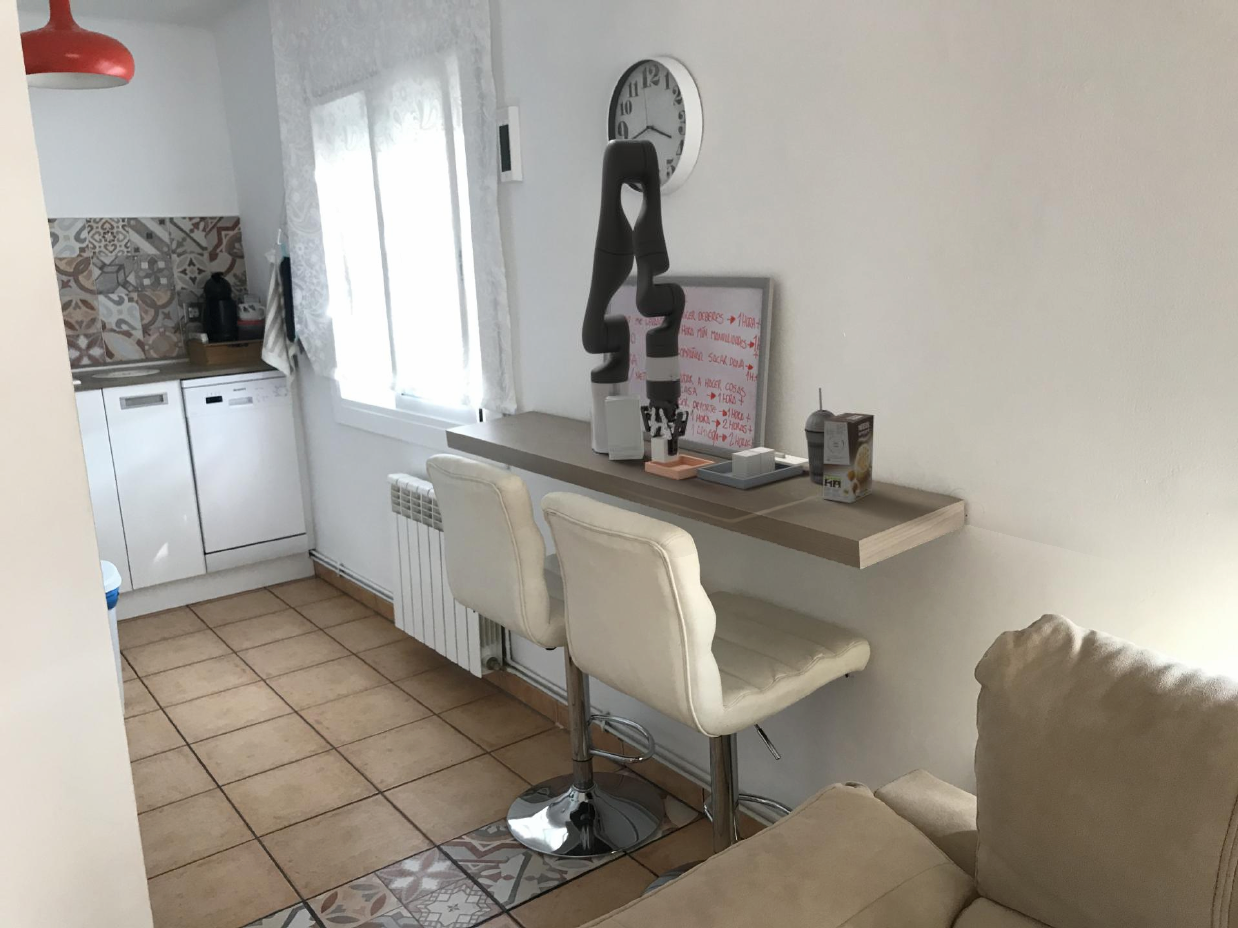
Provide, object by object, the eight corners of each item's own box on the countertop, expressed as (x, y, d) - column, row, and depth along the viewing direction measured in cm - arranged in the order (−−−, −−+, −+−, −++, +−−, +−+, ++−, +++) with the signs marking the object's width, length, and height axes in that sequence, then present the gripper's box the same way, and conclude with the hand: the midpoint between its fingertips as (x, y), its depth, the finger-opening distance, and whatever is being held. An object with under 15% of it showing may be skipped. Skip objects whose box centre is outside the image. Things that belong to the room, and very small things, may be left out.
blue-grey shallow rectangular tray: (695, 479, 213) (695, 462, 212) (762, 463, 225) (762, 446, 225) (744, 492, 202) (744, 473, 201) (811, 473, 214) (811, 456, 213)
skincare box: (644, 454, 239) (642, 393, 235) (642, 460, 233) (640, 398, 229) (609, 454, 239) (607, 394, 236) (607, 460, 234) (604, 398, 230)
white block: (651, 460, 219) (651, 438, 218) (666, 457, 221) (665, 435, 220) (664, 463, 216) (663, 440, 214) (678, 459, 218) (677, 437, 217)
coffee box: (851, 503, 191) (853, 422, 187) (822, 499, 195) (822, 419, 191) (872, 493, 198) (874, 414, 194) (843, 488, 202) (844, 411, 198)
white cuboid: (732, 476, 212) (732, 453, 211) (746, 472, 215) (746, 450, 214) (746, 479, 209) (746, 456, 208) (760, 476, 212) (760, 453, 211)
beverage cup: (813, 489, 202) (814, 392, 197) (798, 481, 209) (798, 387, 204) (845, 485, 204) (847, 390, 199) (829, 477, 211) (830, 384, 206)
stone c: (747, 472, 215) (747, 450, 214) (760, 469, 218) (760, 446, 217) (761, 475, 212) (761, 453, 211) (774, 472, 215) (775, 449, 213)
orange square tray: (645, 473, 220) (644, 462, 219) (681, 465, 227) (681, 454, 226) (678, 482, 212) (678, 471, 211) (715, 473, 218) (715, 462, 218)
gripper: (628, 376, 218) (631, 452, 221) (671, 381, 207) (674, 461, 210) (654, 372, 222) (657, 446, 226) (698, 377, 211) (700, 455, 215)
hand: (665, 453), depth 218 cm, fingers closed on white block, 4 cm apart
